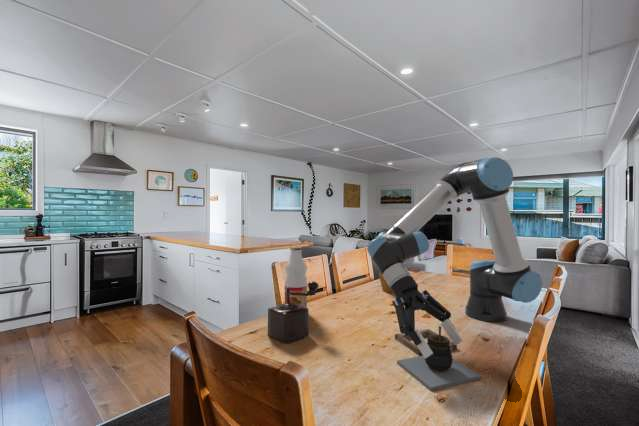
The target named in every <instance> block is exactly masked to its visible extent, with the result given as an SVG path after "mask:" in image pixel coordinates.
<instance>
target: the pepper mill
mask: <svg viewBox="0 0 639 426" xmlns="http://www.w3.org/2000/svg"><path fill="white" fill-rule="evenodd" d="M307 288H308V291H307V293H291V292H290V288H287V289H286V290H287V292H286V294H287V302H286V303H285V302H284V303H282V304H280V305H276V306H272V307H270V308H267V309H268V310H267V336H269V337H270V338H273V339H274V340H276V341H278V342H280V343H283V344H286V345H288V344H290V343H293V342H296V341H298V340H301V339H302V338H305V337H307V336H308V335H309V334H310V333H309V308H308V307H307V308H305V307H302V306H299V305H296V304H294V303H292V302H290V294H291V295H303V296H307V297H308V296H310V297H312V296H316V291H317V289H319V283H318V282H316V281H309V282H307Z"/></svg>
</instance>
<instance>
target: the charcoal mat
mask: <svg viewBox="0 0 639 426" xmlns="http://www.w3.org/2000/svg"><path fill="white" fill-rule="evenodd" d="M396 365H398V366H399V367H401V368H402V369H403V370H404V371H406V372H407V373H408V374H409V375H410V376H411V377H413V378H415V380H417V381H418V382H419V383H420V384H421V385H423V386H424V387H425V388H427V389H428V390H429V391H430V392H431V391H435V390H440V389H443V388H449V387H452V386H456V385H462V384H465V383H469V382H473V381H477V380H482V375H481V374H479V373H478V372H476V371H475V370H473V369H471V368H470V367H467V366H466V365H464V364H463V363H461V362H459V361H458V360H456V359H454V358H453V357H452V365H451V367H450V368H449V369H447V370H446V371H436V370H433V369H431V368H430V367H429V366H428V365H427V364H426V361H425V358H424V356H419V355H418V356H415V357H408V358H403V359H397V360H396Z"/></svg>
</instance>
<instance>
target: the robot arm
mask: <svg viewBox="0 0 639 426" xmlns="http://www.w3.org/2000/svg"><path fill="white" fill-rule="evenodd" d="M513 180H514V172H513V168H512V166H511V165H510V164H509V162H508V161H506V160H505V159H502V158H500V157H497V156H493V157H485V158H480V159H475V160H473V161H467V162H466V161H465V162H463V163H460V164H458V165H456V166H454V167H453V168H452V169H450V170H449V171H448V172H446V174H445V175H443V176H442V177H441V178H440V179H438V181H437V182H436V183H435V187H434V188H433V189H432V190H431V191H430V192H428V193H427V194H426V196H424V197H423V198H422V199H421V200H420V201H419V202H418V203H417V204H416V205H415V206H414V207H412V208H411V209H410V210H409V211H408V212H407V213H405V214H404V216H403V217H402V218H401V219H399V220H398V221H397V222H396V223H395V224H394V225H393V226H391V228H389V229H388V230H386V231H381V232H379V234H378V235H377V238H374V239H372V240H371V241H370V242H369V243H368V244H367V248H366V250H367V253H368V255H369V257H370V259H371V261H372V262H373V263H374V264H375V267H376V268H377V269H378V271H380V272H381V274H382V276H383V277H384V279H385V280H386V282H387V284H388V285H389V287H391V290H392V292H393V293H392V294H393V295H394V297H395V298H394V299H393V300H392V301H391V302H392V305H393V307H394V309H395V313H396V319H397V322H398V328H399V332H400V334H401V333H402V334H403V333H404V334H405V335H406V336H408V335H410V337H411V338H410V340H412V343H414V344H415V345H417V347H418V348H419V350H420V351H421V353H422V355H423V356H424V358H427V357H429V356H430V355H432V354H433V352H432V350H431V349H430V347H429V346H428V344H427V342H428V341H427V340H425V338H424V336H422V335H421V333H420V330H419V329H418V328H417V329H416V323H415V322H416V320H415V319H416V318H415V317H416V315H415V311H424V312H425V313H427V314H429V315H430V316H432V317H433V318H435V319H437V320H438V321H439V322H441V323H440V325H441V328H443V330H444V331H445V333H446V334H447V336H448V337H449V340H450V341H451V342H453V343H454V344H455V345H457V346H458V344H460V343H463V341H464V339H463V338H462V336H461V335H460V334H459V332H458V331H457V330H456V327H455V326H454V324H453V323H452V322H451V319H450V318H451V317H452V313H451V312H450V310H448V309H447V308H446V307H444V306H443V305H442V304H441V303H440V302H439V301H438V300H437V299H435V298H434V297H433V296H432V295H431V294H430V293H429V292H428V290H426V289H425V290H423V291H422V292H420V291H419V289H418V288H419V285H418V283H417V282H416V281H417V280H415V279H414V276H412V275H411V272H410V271H409V270H408V268H407V267H406V265H405V264H404V262H406V261H407V260H410V259H414V258H416V257H418V256H421V255H423V254H424V253H427V252H428V251H429V249H430V241H429V239H428V237H427V236H426V235H425V234H424V233H423V232H422V231H420V230H421V229H422V227H424V226H425V225H426V224H427V223H428V222H429V221H431V219H432V218H433V217H434V216H435V215H436V214H437V213H439V212H440V211H441V209H443V208H444V207H445V206H446V205H447V204H448V203H449V202H450V201H456V199H457V198H458V197H460V196H462V195H464V194H469V193H471V197H472V199H473V200H474V201H475V202H477V203H478V204H479V207H480V210H481V211H480V212H481V215H482V217H483V221H484V224H485V228H486V231H487V236H488V238H489V242H490V245H491V246H490V247H491V250H492V253H493V257H494V259H493V260H492V259H490V260H489V259H487V260H486V259H484V260H483V259H482V260H480V259H479V260H473V261H471V263H470V267H469V268H470V269H469V298H468V301H467V303H466V305H465V310H464V311H465V312H464V313H465V314H466V315H467V317H469V318H473V319H476V320H479V321H484V322H489V323H490V322H492V323H493V322H495V323H501V322H502V323H503V322H505V321H507V320H508V317H507V316H508V315H507V314H508V313H507V310H506V309H505V305H504V301H503V297H504V298H507V299H510V300H513V301H515V302H521V303H525V304H526V303H531V302H533V301H535V300H536V299H537V298H538V296H539V295H540V294H541V291H542V288H543V279H542V276H541V275H540V274H539V273H538V272H536V271H535V270H532V269H531V265H530V263H529V261H528V260H526V259H525V258H523V255H522V252H521V248H520V244H519V241H518V237H517V233H516V230H515V229H516V228H515V226H514V223H513V219H512V215H511V212H510V209H509V204H508V201H507V195H508V194H509V192H510V189H509V188H510V187H511V185H512V184H513ZM405 260H406V261H405ZM403 261H404V262H403ZM402 262H403V263H402Z"/></svg>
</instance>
